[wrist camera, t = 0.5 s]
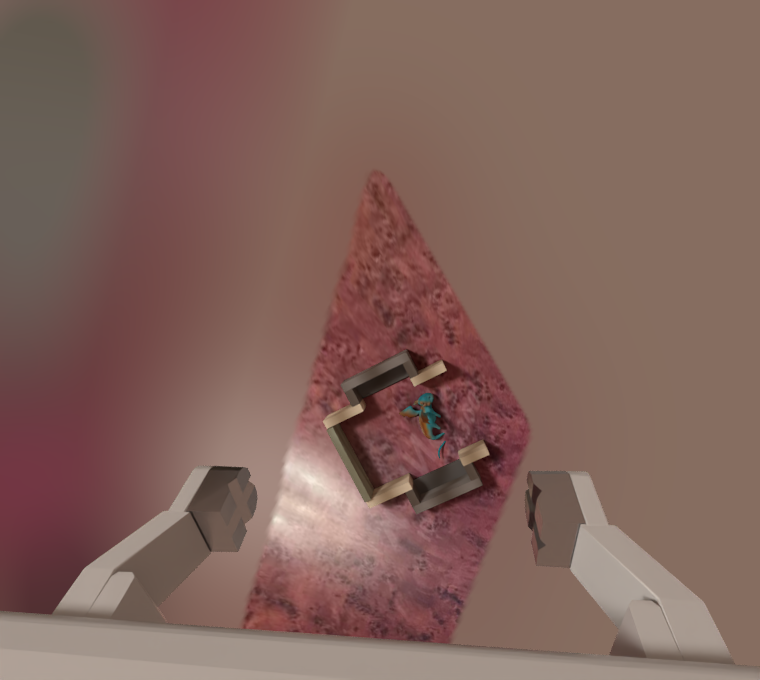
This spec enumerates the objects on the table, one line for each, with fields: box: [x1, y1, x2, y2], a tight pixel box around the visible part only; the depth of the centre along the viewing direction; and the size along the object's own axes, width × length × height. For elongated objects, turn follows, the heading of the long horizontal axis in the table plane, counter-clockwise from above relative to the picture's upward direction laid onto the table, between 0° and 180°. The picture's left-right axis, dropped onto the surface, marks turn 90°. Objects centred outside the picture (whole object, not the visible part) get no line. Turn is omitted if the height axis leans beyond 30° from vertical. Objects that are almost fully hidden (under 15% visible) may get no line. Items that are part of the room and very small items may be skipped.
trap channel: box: [323, 349, 490, 514], centre depth 62 cm, size 19×22×4 cm
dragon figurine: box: [399, 393, 446, 458], centre depth 62 cm, size 7×7×8 cm
